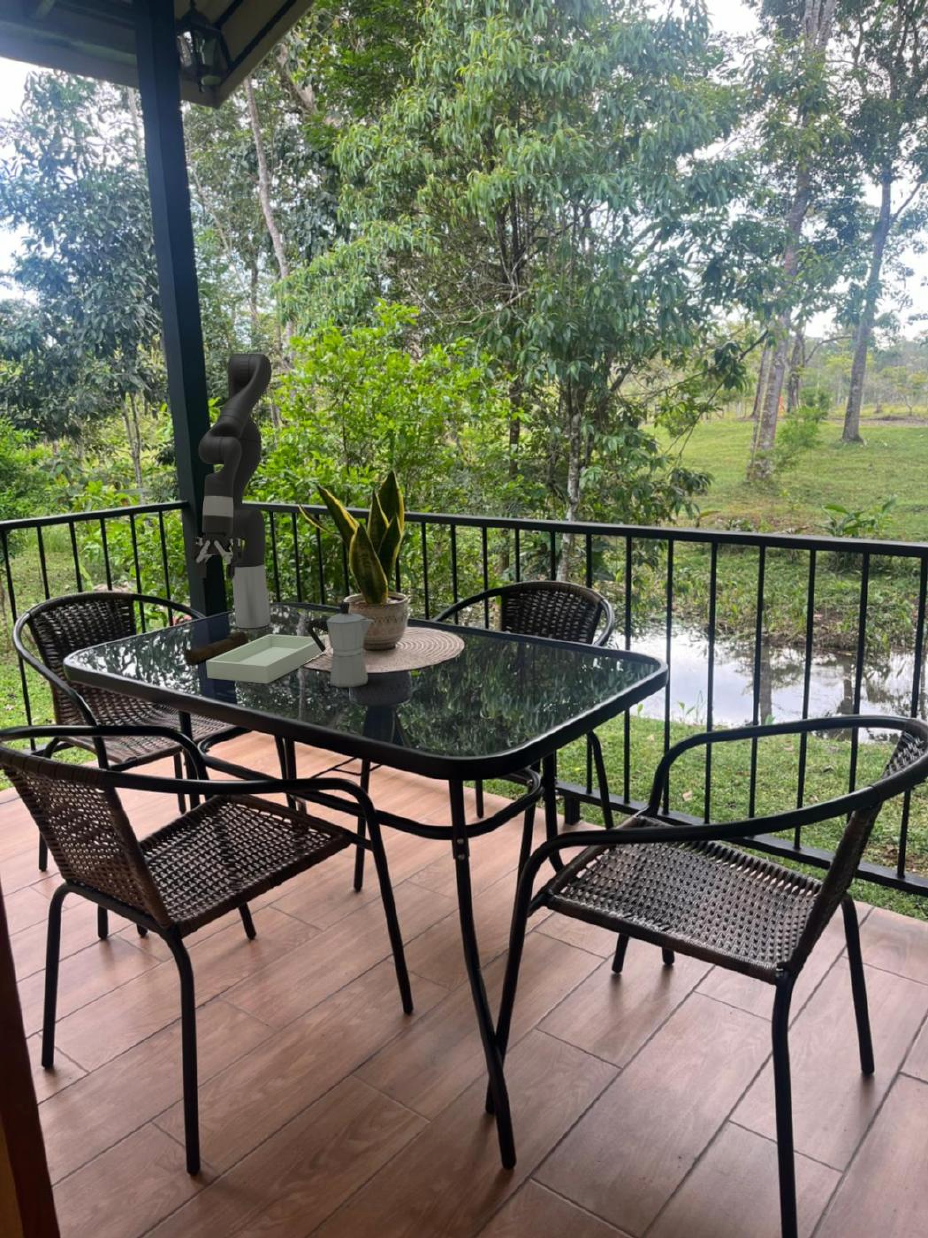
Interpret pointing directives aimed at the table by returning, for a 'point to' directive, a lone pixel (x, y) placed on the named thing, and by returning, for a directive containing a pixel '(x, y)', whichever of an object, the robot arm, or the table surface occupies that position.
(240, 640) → the dark brown log
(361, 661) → the coffee maker
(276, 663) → the tray
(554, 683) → the table surface
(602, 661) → the table surface
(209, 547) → the robot arm
